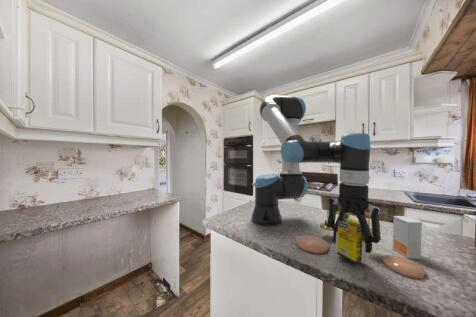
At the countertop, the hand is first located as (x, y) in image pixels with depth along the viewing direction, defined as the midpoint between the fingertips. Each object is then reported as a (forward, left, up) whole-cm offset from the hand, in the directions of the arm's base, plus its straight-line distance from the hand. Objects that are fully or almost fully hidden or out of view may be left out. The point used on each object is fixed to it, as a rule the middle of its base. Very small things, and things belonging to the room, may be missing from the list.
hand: (350, 255), depth 54 cm
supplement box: (0, 0, -1) cm, 1 cm away
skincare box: (+10, +20, -2) cm, 22 cm away
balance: (-5, +11, -2) cm, 12 cm away
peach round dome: (-12, -1, -2) cm, 13 cm away
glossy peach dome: (+11, +9, -2) cm, 14 cm away
